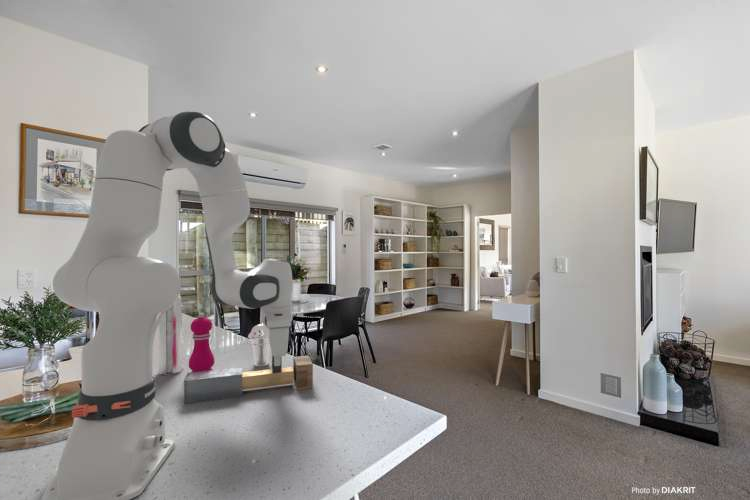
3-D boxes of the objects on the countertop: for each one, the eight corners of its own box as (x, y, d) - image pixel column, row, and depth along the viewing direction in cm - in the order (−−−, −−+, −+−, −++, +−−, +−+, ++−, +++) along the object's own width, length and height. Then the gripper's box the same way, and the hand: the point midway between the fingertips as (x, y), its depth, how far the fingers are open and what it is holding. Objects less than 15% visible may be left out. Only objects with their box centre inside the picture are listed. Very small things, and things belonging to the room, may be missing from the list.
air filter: (186, 368, 116) (185, 293, 116) (173, 375, 110) (172, 296, 109) (168, 367, 117) (167, 292, 117) (153, 375, 111) (153, 295, 110)
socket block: (312, 388, 101) (312, 363, 101) (296, 390, 100) (296, 365, 99) (308, 377, 109) (308, 355, 108) (293, 379, 107) (293, 357, 107)
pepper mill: (204, 382, 105) (203, 315, 105) (183, 380, 107) (182, 314, 106) (219, 373, 112) (219, 310, 112) (199, 371, 114) (199, 310, 113)
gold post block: (293, 383, 101) (293, 350, 101) (217, 393, 95) (217, 357, 94) (291, 378, 105) (291, 346, 105) (218, 388, 98) (218, 353, 98)
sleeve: (242, 396, 96) (242, 374, 95) (184, 404, 91) (184, 380, 91) (242, 387, 101) (242, 366, 101) (187, 394, 96) (187, 372, 96)
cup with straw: (242, 366, 119) (242, 307, 119) (262, 358, 127) (261, 303, 127) (261, 370, 115) (261, 309, 115) (280, 361, 123) (280, 304, 123)
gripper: (263, 309, 110) (263, 353, 110) (267, 323, 91) (267, 376, 91) (284, 308, 112) (284, 351, 112) (292, 321, 93) (292, 373, 93)
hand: (276, 362), depth 101 cm, fingers closed on gold post block, 3 cm apart
